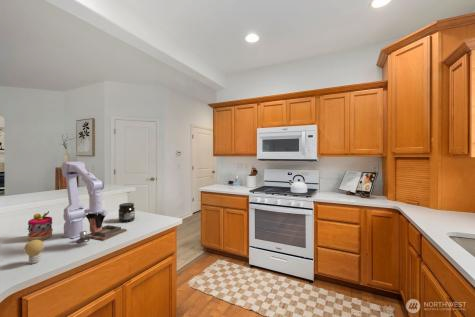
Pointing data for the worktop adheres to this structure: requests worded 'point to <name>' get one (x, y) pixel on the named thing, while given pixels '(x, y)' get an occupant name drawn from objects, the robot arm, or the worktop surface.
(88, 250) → the worktop surface
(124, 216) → the supplement container
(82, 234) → the metal door knob
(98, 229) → the plug block
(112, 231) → the holder board
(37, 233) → the cake
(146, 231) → the worktop surface
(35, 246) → the light bulb
